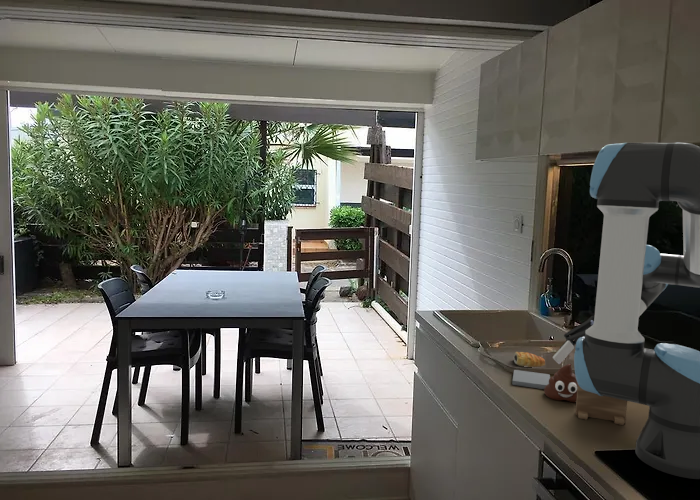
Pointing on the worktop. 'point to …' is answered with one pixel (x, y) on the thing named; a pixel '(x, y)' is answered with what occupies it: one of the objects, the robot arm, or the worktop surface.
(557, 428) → the worktop surface
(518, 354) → the pastry
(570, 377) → the poop emoji
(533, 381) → the board
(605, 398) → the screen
